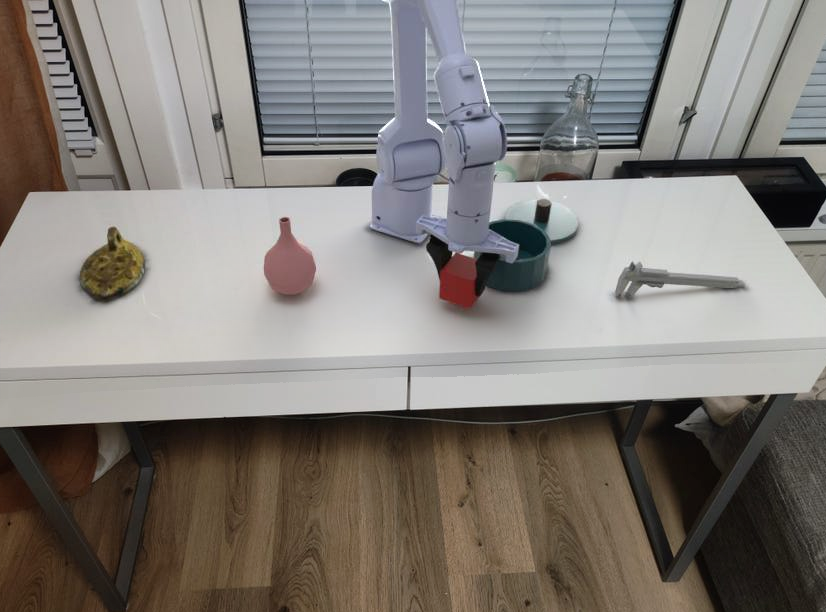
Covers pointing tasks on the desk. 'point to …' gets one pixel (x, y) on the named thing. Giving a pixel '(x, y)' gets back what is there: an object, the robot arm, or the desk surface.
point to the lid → (546, 217)
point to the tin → (520, 256)
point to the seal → (112, 268)
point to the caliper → (668, 279)
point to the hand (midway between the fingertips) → (462, 286)
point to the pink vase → (289, 263)
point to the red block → (459, 281)
